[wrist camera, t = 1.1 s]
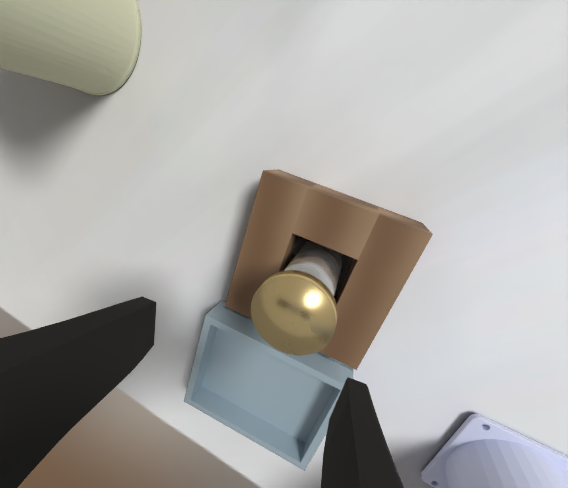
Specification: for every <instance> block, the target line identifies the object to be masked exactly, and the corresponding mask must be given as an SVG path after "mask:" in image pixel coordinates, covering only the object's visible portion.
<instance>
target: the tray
mask: <svg viewBox="0 0 568 488" xmlns="http://www.w3.org/2000/svg"><path fill="white" fill-rule="evenodd" d="M225 304H226V302H225V301H223V300H221V301H220V302H219V303H218V304H217V305H216V306H215V307H214V308H213V309H212V310H211V311H209V312H208V313H207V314H206V315H205V319H204V323H203V327H202V331H201V335H200V339H199V343H198V347H197V351H196V355H195V359H194V363H193V367H192V371H191V375H190V379H189V383H188V387H187V390H186V394H185V398H184V402H186V403H188V404H190V405H191V406H193V407H195V408H196V409H198V410H200V411H202V412H203V413H205V414H207V415H209V416H210V417H212V418H214V419H216V420H217V421H219V422H221V423H223V424H224V425H226V426H228V427H230V428H231V429H233V430H235V431H236V432H238V433H240V434H242V435H243V436H245V437H247V438H249V439H250V440H252V441H254V442H256V443H257V444H259V445H261V446H263V447H264V448H266V449H268V450H269V451H271V452H273V453H275V454H276V455H278V456H280V457H282V458H283V459H285V460H287V461H289V462H290V463H292V464H294V465H296V466H297V467H299V468H301V469H302V470H304V471H305V469H306V468H307V466H308V464H309V462H310V461H311V459H312V457H313V456H314V454H315V452H316V450H317V449H318V447H319V445H320V443H321V442H322V440H323V438H324V436H325V435H326V433H327V429H328V423H329V419H330V416H331V414H332V412H333V409H334V407H335V405H336V402H337V400H338V398H339V395H340V393H341V391H342V388H343V386H344V384H345V381H346V379H347V377H349V378H351V379H353V369H354V368H352V367H350V366H348V365H345V364H343V363H341V362H339V361H337V360H335V359H333V358H331V357H329V356H327V355H325V354H323V353H321V352H319V351H318V352H316V353H313V354H310V355H300V356H299V355H291V354H287V353H284V352H281V351H279V350H277V349H275V348H274V347H272V346H271V345H269V344H268V343H267V342H266V341H265V340H264V339H263V338H262V337H261V336H260V334H259V333H258V331H257V330H256V328H255V326H254V324H253V321H252V319H251V318H249V317H247V316H245V315H243V314H241V313H239V312H237V311H235V310H233V309H231V308H228V307H226V306H225Z"/></svg>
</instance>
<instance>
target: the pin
mask: <svg viewBox="0 0 568 488" xmlns="http://www.w3.org/2000/svg"><path fill="white" fill-rule="evenodd" d="M342 263H343V259H342V254H341V253H340V252H337V251H335V250H332V249H330V248H327V247H325V246H323V245H320V244H318V243H315V242H313V241H309V242H307V243H306V244H305V245H304V246H303V247H302V248H301V250H300V251H299V252H298V253H297V255H296V256H295V257H294V258H293V260H292V261H291V262H290V263H289V265H288V266H287V267H286V268H285V270H284V271H281V272H278V273H275V274H273V275H272V276H270V277H269V278H268V279H267V280H266V281H265V282H264V283H263V284H262V285H261V286H260V287H259V288H258V290H257V291H256V293H255V294H254V296H253V299H252V303H251V317H252V321H253V324H254V326H255V328H256V330H257V331H258V333H259V334H260V336H261V337H262V338H263V339H264V340H265V341H266V342H267V343H268V344H269V345H271V346H272V347H274V348H275V349H277V350H279V351H281V352H284V353H287V354H291V355H299V356H300V355H310V354H313V353H316V352H318V351H320V350H321V349H323V348H324V347H325V346H327V344H328V343H329V342H330V341H331V339H332V337H333V335H334V332H335V327H336V322H337V317H338V310H337V304H336V301H335V298H334V295H335V291H336V287H337V283H338V279H339V275H340V272H341V268H342Z"/></svg>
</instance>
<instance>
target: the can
mask: <svg viewBox="0 0 568 488" xmlns="http://www.w3.org/2000/svg"><path fill="white" fill-rule="evenodd" d="M140 43H141V19H140V12H139V6H138V2H137V0H0V68H1V69H5V70H9V71H13V72H17V73H21V74H24V75H28V76H32V77H36V78H40V79H43V80H47V81H50V82H54V83H58V84H61V85H65V86H68V87H72V88H75V89H78V90H80V91H82V92H84V93H87V94H91V95H106V94H109V93H112V92H114V91H116V90H117V89H118V88H120V87H121V86H122V85H123V84H124V83H125V82H126V80H127V79H128V78H129V76H130V75H131V73H132V71H133V69H134V67H135V64H136V61H137V58H138V55H139V49H140Z"/></svg>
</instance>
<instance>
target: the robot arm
mask: <svg viewBox="0 0 568 488" xmlns="http://www.w3.org/2000/svg"><path fill="white" fill-rule="evenodd" d="M155 316H156V302H154V301H152V300H149V299H147V298H144V297H140V298H136V299H132V300H129V301H126V302H123V303H119V304H116V305H113V306H110V307H107V308H104V309H101V310H98V311H95V312H91V313H88V314H85V315H82V316H79V317H76V318H72V319H69V320H66V321H62V322H59V323H55V324H52V325H48V326H45V327H41V328H38V329H34V330H31V331H28V332H24V333H20V334H16V335H12V336H8V337H4V338H0V488H17V487H18V486H19V485H20V484H21V483H22V482H23V480H24V479H25V478H26V477H27V476H28V475H29V474H30V472H31V471H32V470H33V469H34V468H35V467H36V466H37V465H38V464H39V463H40V461H41V460H42V459H43V458H44V457H45V456H46V455H47V453H48V452H50V450H51V449H52V448H53V447H54V446H55V445H56V444H57V443H58V441H59V440H61V439H62V438H63V437H64V435H65V434H66V433H67V432H68V431H69V430H70V429H71V428H72V427H73V426H74V425H76V423H78V422H79V421H80V420H81V419H82V418H83V417H84V416H85V415H86V414H87V413H88V412H89V411H90V410H91V409H92V408H93V407H94V406H96V405H97V403H99V402H100V401H101V400H102V399H103V398H104V397H105V396H106V395H107V394H108V393H109V392H110V391H111V390H112V389H114V388H115V387H116V386H117V385H118V384H119V383H120V382H121V381H122V380H123V379H124V378H125V377H126V376H127V375H128V374H129V373H130V372H131V371H132V370H133V369H134V368H135V367H136V366H137V365H138V363H139V362H140V361H141V360H142V359H143V358H144V356H145V355H146V354H147V353H148V351H149V350H150V349H151V348H152V347H153V345H154V333H155ZM484 424H486V425H484ZM421 477H422V480H423V482H425V483H426V484H428V485H430V486H432V487H433V488H568V456H566V455H563V454H561V453H559V452H557V451H555V450H553V449H551V448H549V447H547V446H545V445H542V444H540V443H538V442H536V441H534V440H532V439H530V438H528V437H526V436H524V435H522V434H519V433H517V432H515V431H513V430H511V429H509V428H507V427H505V426H503V425H501V424H498V423H496V422H494V421H492V420H490V419H488V418H486V417H484V416H482V415H479V414H471V415H470V416H469V417H468V418H467V419H466V421H465V422H464V423H463V424H462V425H461V426H460V428H459V429H458V430H457V431H456V432H455V433H454V435H453V436H452V437H451V438H450V439H449V441H448V442H447V443H446V444H445V445H444V446H443V448H442V449H441V450H440V451H439V452H438V453H437V455H436V456H435V457H434V458H433V459H432V461H431V462H430V463H429V464H428V465H427V466H426V468H425V469H424V470H423V471H422V472H421ZM321 488H404V487H403V484H402V482H401V479H400V477H399V474H398V472H397V470H396V467H395V464H394V462H393V459H392V456H391V454H390V451H389V449H388V446H387V443H386V441H385V438H384V435H383V432H382V429H381V427H380V424H379V421H378V418H377V415H376V412H375V409H374V406H373V402H372V399H371V396H370V393H369V389H368V387H367V385H366V384H364V383H362V382H359V381H357V380H354V379H351V378H349V377H347V379H346V381H345V384H344V386H343V388H342V391H341V393H340V395H339V398H338V400H337V402H336V405H335V407H334V409H333V412H332V414H331V416H330V419H329V423H328V429H327V435H326V441H325V447H324V454H323V466H322V480H321Z"/></svg>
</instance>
